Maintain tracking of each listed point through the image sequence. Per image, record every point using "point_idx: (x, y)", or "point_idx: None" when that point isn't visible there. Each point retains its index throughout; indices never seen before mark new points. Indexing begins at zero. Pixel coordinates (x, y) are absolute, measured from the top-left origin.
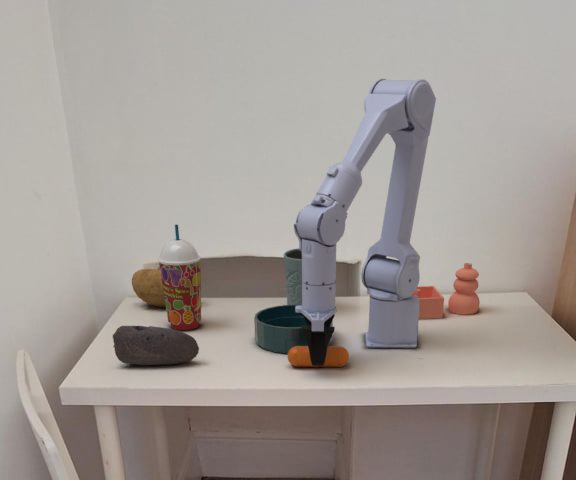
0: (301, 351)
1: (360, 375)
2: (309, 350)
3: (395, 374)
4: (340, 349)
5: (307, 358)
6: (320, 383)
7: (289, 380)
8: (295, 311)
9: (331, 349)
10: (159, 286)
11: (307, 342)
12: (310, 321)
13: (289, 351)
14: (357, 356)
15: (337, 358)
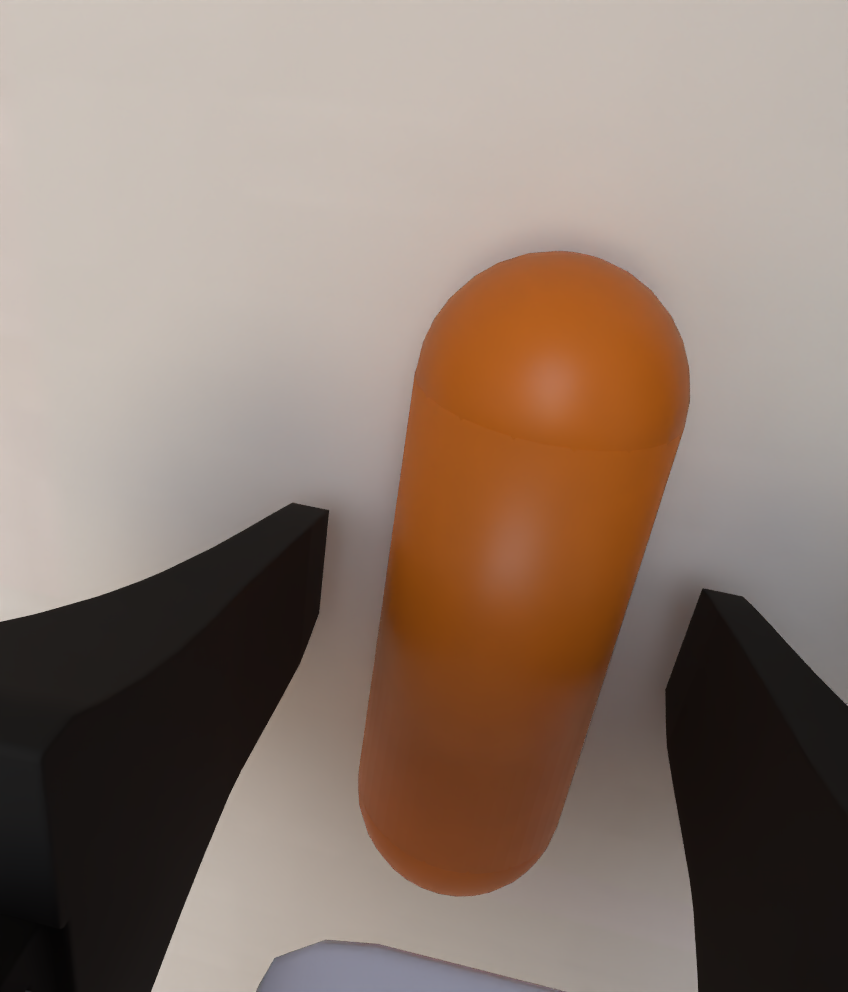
0: (432, 464)
1: (251, 793)
2: (175, 567)
3: (264, 963)
4: (396, 854)
5: (399, 493)
6: (68, 488)
7: (121, 200)
8: (360, 954)
9: (403, 785)
10: None
11: (56, 610)
12: (833, 916)
13: (535, 299)
14: (684, 888)
15: (361, 759)
